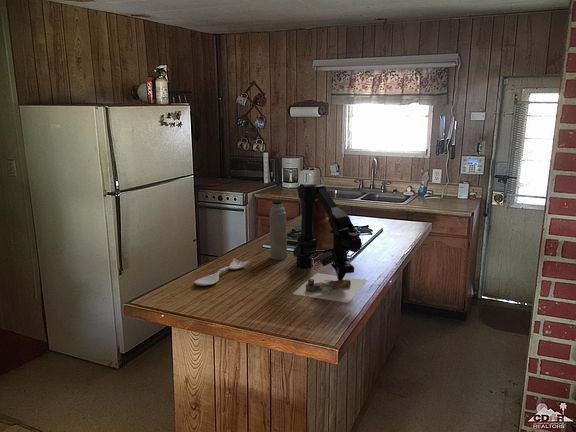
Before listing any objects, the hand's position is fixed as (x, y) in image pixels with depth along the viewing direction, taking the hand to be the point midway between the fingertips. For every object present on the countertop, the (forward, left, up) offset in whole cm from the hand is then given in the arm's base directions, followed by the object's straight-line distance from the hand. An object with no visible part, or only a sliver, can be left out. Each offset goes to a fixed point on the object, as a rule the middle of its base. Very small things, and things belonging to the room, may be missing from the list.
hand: (339, 282), depth 198 cm
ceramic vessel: (-26, +43, -2) cm, 51 cm away
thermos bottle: (-40, +25, -2) cm, 48 cm away
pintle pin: (-8, -10, +2) cm, 13 cm away
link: (-3, -6, -1) cm, 6 cm away
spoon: (-52, -8, -2) cm, 53 cm away
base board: (-2, -4, -2) cm, 5 cm away
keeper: (-2, -9, -1) cm, 9 cm away
